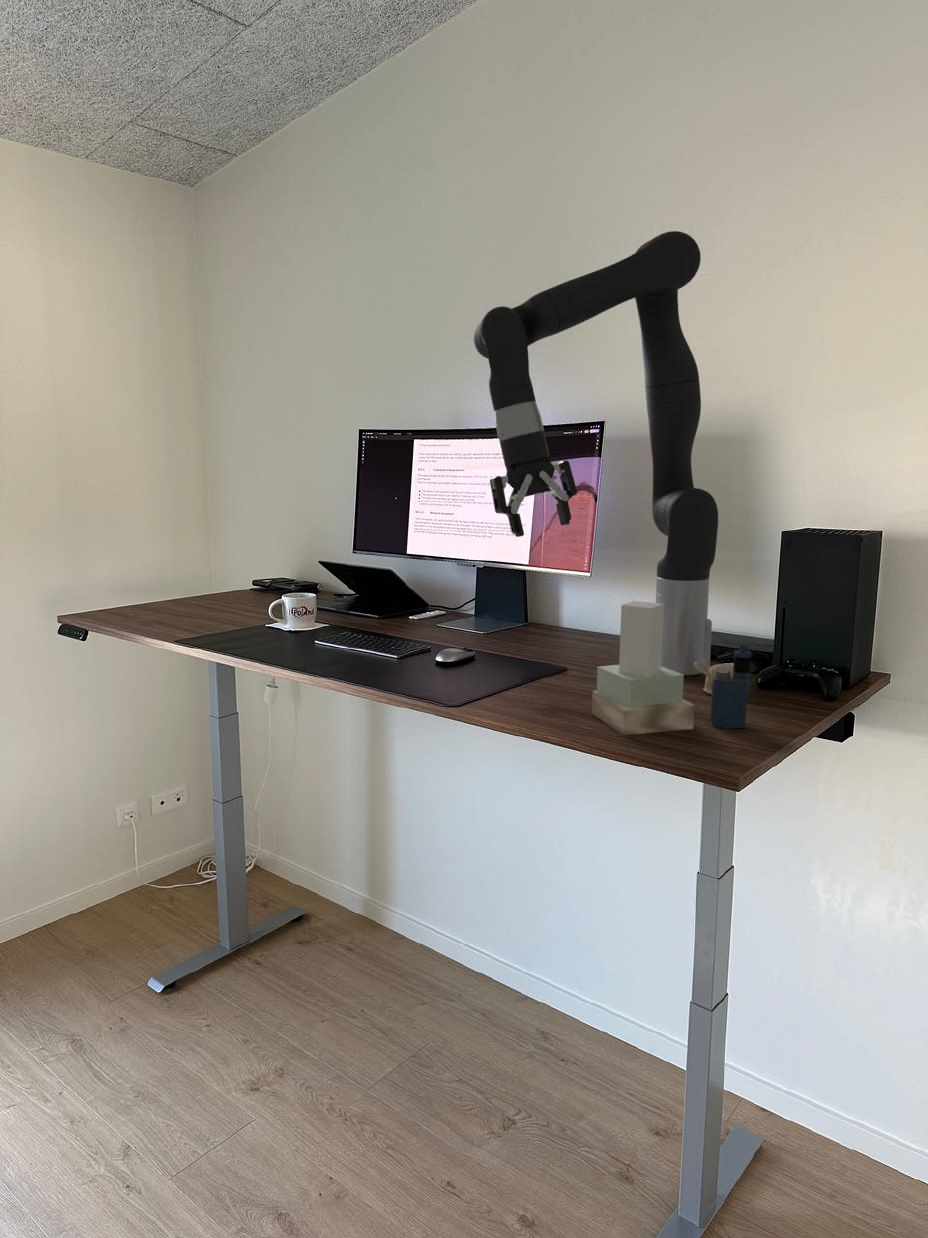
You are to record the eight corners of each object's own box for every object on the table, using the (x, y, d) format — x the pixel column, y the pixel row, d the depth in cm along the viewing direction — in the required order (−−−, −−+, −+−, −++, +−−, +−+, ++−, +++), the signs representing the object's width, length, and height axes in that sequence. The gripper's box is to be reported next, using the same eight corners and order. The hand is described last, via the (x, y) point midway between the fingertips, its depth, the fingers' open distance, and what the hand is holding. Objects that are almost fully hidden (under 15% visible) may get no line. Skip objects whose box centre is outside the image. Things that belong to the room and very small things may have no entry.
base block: (657, 710, 133) (658, 685, 132) (693, 731, 122) (694, 705, 122) (592, 716, 130) (592, 690, 129) (622, 738, 120) (623, 710, 119)
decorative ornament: (745, 699, 137) (747, 667, 136) (692, 695, 140) (693, 663, 139) (746, 693, 141) (748, 662, 140) (694, 689, 144) (696, 658, 143)
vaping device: (748, 730, 122) (753, 648, 119) (710, 727, 123) (714, 646, 120) (746, 724, 124) (751, 644, 122) (709, 722, 125) (713, 642, 123)
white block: (631, 666, 128) (634, 600, 126) (660, 670, 125) (663, 603, 123) (618, 672, 124) (621, 605, 122) (648, 676, 122) (651, 608, 120)
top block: (647, 686, 132) (648, 661, 131) (682, 701, 123) (683, 674, 123) (596, 692, 128) (597, 666, 128) (629, 708, 120) (630, 680, 119)
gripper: (490, 439, 134) (513, 539, 136) (569, 422, 138) (590, 519, 140) (474, 446, 141) (496, 541, 143) (549, 429, 145) (570, 522, 147)
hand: (543, 530), depth 142 cm, fingers open, 8 cm apart
